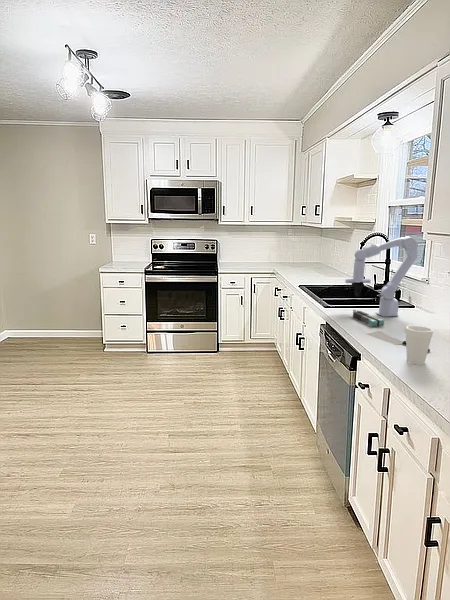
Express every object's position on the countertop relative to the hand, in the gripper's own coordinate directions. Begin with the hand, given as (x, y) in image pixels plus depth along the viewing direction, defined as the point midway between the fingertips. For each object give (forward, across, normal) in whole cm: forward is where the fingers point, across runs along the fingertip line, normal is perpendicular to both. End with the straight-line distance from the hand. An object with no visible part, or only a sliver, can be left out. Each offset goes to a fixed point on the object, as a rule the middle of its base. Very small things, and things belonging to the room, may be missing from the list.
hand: (356, 296), depth 256 cm
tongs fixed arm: (+9, -8, -21) cm, 24 cm away
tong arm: (+9, -5, -19) cm, 22 cm away
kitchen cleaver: (+10, -14, -56) cm, 59 cm away
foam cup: (+10, -22, -80) cm, 84 cm away
